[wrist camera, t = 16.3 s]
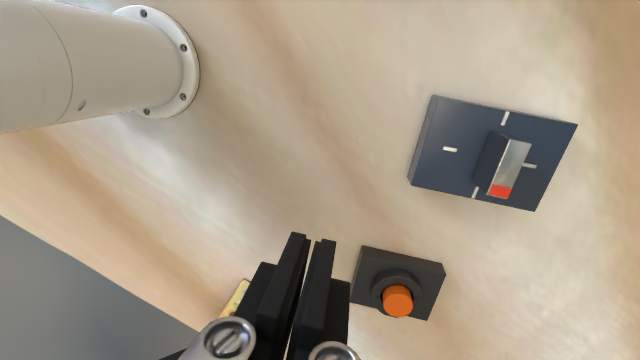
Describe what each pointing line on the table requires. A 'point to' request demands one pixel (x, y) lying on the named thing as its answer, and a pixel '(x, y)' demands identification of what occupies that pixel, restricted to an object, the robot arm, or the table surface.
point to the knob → (500, 163)
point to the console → (467, 143)
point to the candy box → (234, 300)
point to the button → (397, 300)
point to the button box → (396, 280)
